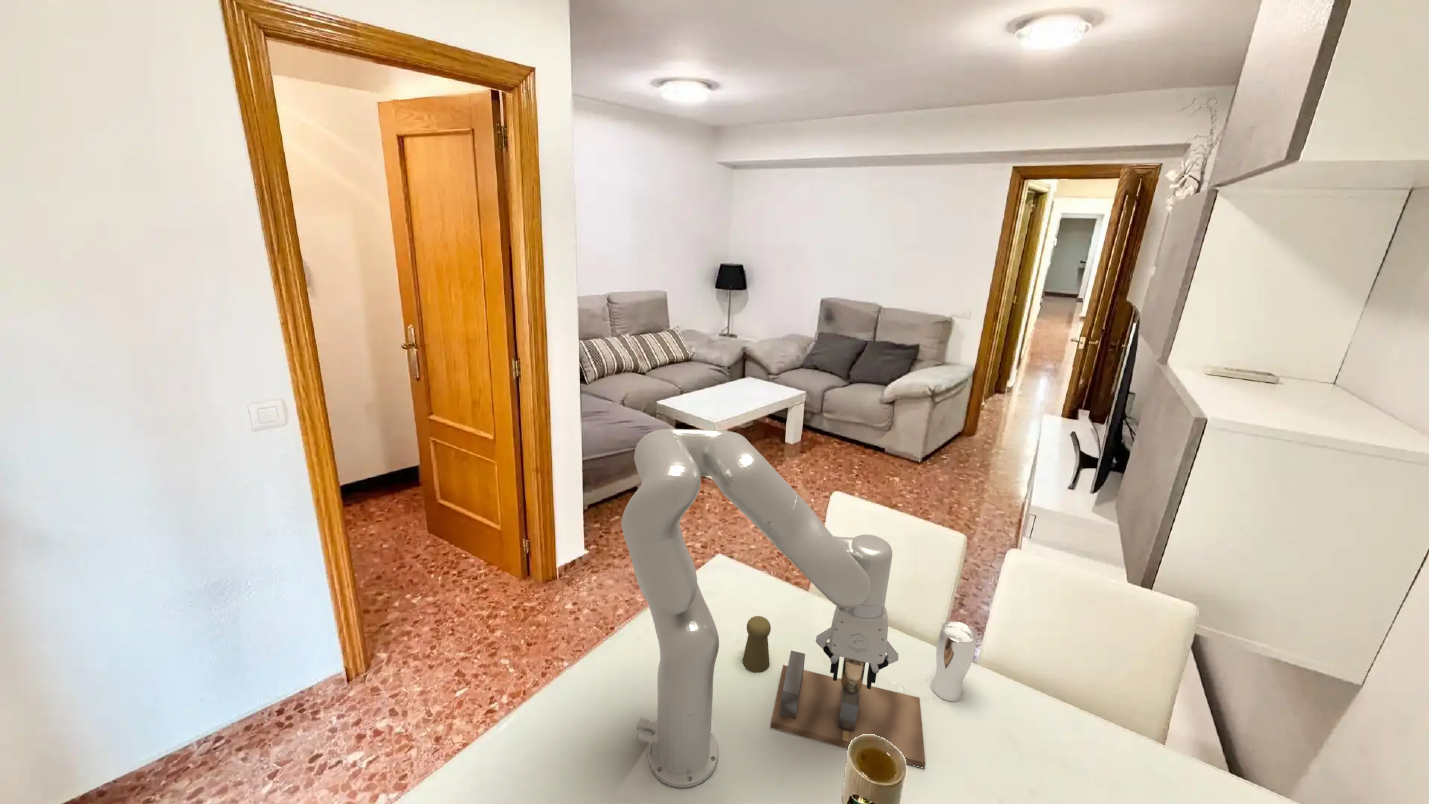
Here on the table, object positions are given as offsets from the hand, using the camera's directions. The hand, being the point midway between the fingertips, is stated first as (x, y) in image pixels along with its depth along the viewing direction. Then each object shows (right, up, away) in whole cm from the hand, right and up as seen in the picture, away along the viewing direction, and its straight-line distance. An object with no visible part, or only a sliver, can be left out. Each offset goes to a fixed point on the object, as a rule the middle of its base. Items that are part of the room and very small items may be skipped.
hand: (851, 678), depth 106 cm
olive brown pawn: (-17, -4, +15) cm, 23 cm away
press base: (0, -9, +3) cm, 9 cm away
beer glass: (+22, -8, +10) cm, 26 cm away
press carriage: (0, -7, +2) cm, 7 cm away
